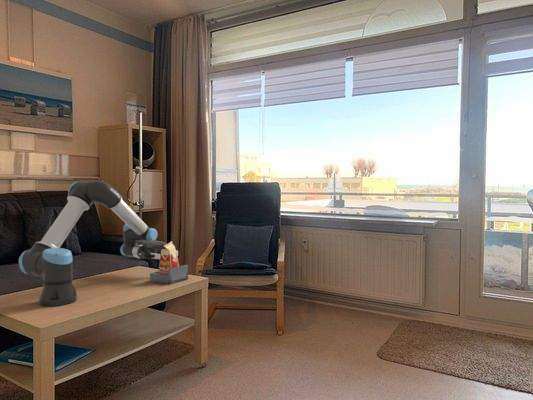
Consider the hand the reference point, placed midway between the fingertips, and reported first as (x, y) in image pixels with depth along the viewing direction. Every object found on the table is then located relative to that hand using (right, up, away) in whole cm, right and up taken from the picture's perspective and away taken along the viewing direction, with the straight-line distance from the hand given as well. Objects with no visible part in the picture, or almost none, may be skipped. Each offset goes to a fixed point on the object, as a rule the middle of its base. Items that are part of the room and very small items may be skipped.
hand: (168, 254), depth 220 cm
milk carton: (0, -13, 0) cm, 13 cm away
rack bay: (0, -14, 0) cm, 14 cm away
